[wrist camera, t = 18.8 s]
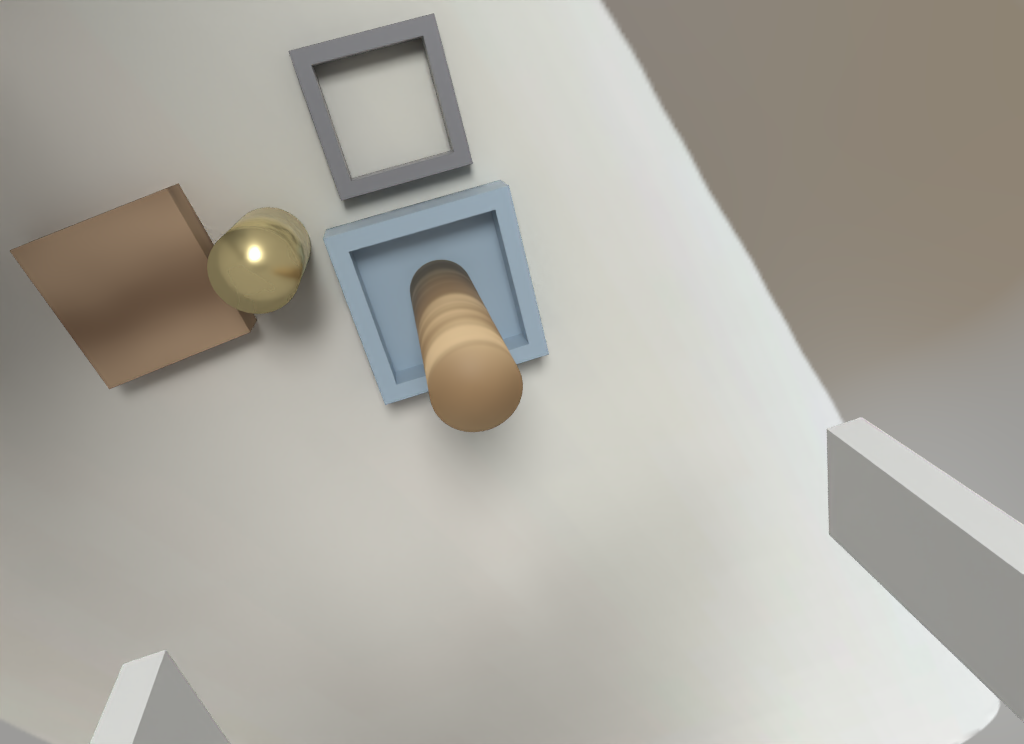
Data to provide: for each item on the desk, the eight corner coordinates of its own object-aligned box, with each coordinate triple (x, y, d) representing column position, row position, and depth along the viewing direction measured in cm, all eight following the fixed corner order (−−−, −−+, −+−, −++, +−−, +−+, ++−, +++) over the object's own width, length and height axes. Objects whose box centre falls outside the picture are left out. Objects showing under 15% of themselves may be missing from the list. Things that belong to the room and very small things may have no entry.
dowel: (401, 269, 36) (417, 362, 24) (462, 252, 37) (510, 334, 24) (420, 327, 38) (444, 443, 25) (478, 310, 38) (531, 416, 26)
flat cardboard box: (34, 240, 33) (9, 250, 31) (180, 182, 33) (166, 188, 31) (125, 371, 37) (109, 389, 34) (257, 317, 37) (250, 332, 35)
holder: (291, 52, 32) (288, 51, 31) (431, 16, 32) (434, 13, 31) (342, 197, 35) (341, 200, 34) (469, 161, 35) (472, 163, 34)
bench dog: (220, 219, 34) (191, 242, 29) (294, 198, 34) (279, 217, 29) (251, 289, 36) (229, 324, 30) (321, 269, 36) (312, 299, 31)
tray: (326, 229, 35) (322, 238, 33) (500, 179, 36) (508, 185, 34) (384, 387, 40) (385, 404, 37) (538, 339, 40) (548, 354, 38)
